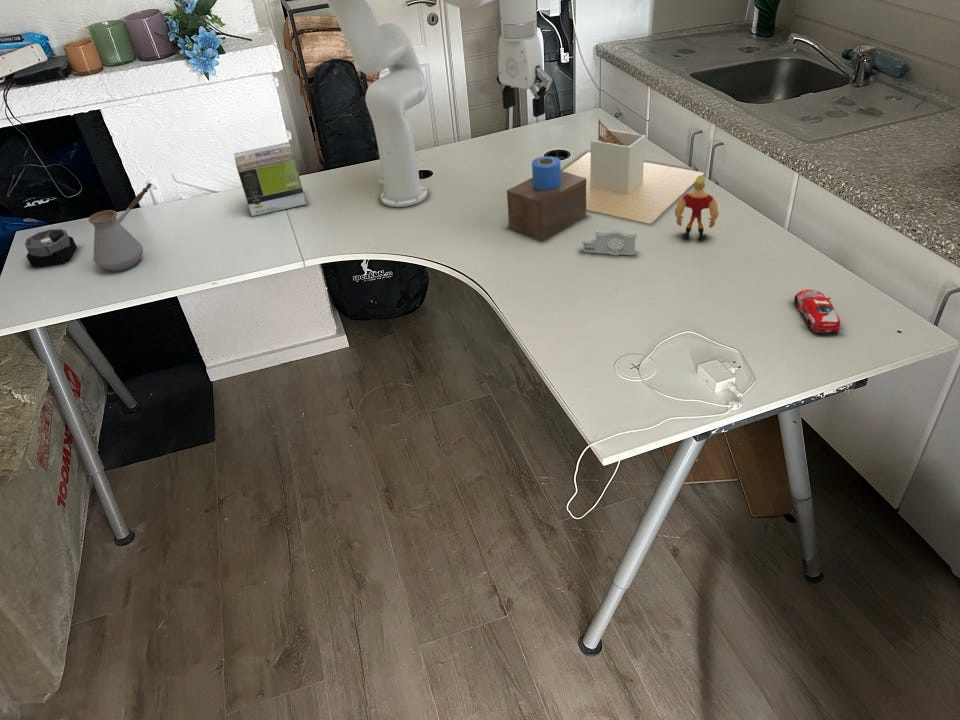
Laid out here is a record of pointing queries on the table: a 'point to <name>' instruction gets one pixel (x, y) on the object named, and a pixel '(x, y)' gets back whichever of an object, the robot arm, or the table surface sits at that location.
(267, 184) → the tea box
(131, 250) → the coffee pot
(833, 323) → the race car
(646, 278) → the table surface
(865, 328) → the table surface
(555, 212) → the brown boxy piece
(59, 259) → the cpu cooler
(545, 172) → the tape
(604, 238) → the lattice window wall
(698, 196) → the action figure
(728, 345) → the table surface
